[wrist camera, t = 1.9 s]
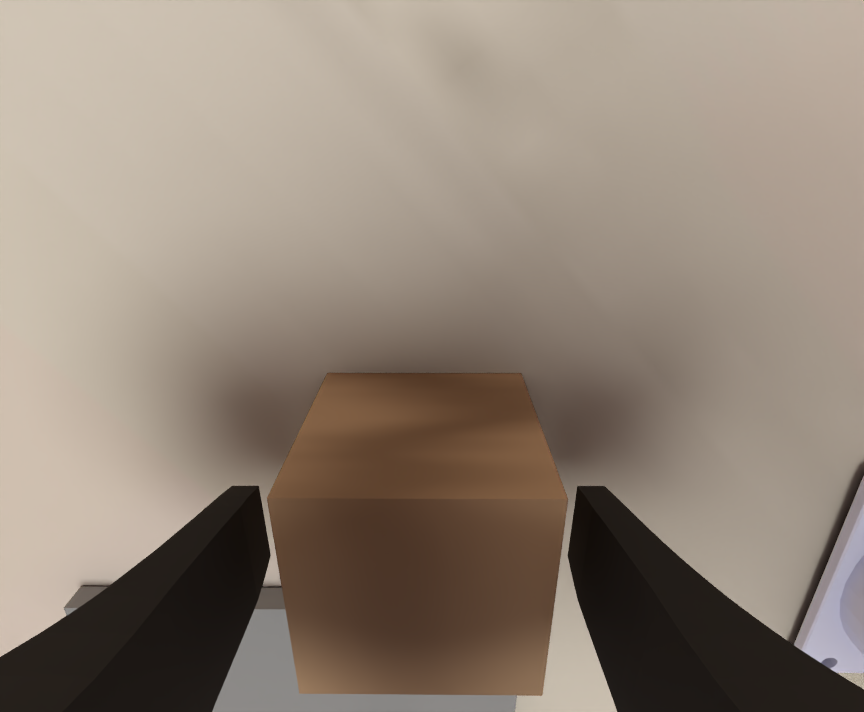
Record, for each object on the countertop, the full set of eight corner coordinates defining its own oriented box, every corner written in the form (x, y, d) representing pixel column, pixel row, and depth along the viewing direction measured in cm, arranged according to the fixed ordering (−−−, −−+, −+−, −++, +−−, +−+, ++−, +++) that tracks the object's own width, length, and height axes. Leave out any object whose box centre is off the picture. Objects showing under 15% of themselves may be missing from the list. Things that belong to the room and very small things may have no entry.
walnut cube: (520, 371, 13) (568, 499, 8) (509, 524, 15) (542, 695, 10) (328, 371, 13) (267, 498, 8) (342, 523, 15) (299, 693, 10)
